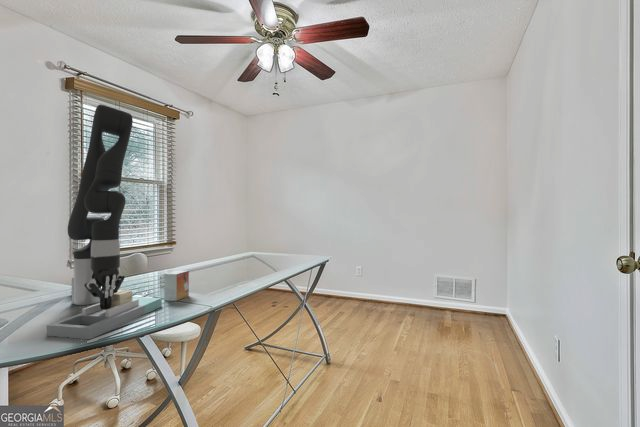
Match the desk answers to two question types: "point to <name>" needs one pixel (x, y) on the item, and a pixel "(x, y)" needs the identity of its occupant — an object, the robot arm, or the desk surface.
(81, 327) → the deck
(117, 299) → the block
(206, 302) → the desk surface
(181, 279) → the small box
